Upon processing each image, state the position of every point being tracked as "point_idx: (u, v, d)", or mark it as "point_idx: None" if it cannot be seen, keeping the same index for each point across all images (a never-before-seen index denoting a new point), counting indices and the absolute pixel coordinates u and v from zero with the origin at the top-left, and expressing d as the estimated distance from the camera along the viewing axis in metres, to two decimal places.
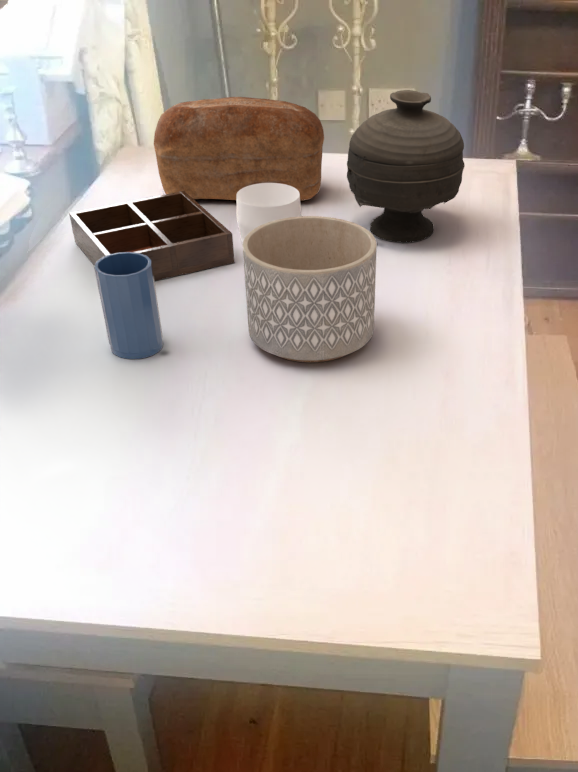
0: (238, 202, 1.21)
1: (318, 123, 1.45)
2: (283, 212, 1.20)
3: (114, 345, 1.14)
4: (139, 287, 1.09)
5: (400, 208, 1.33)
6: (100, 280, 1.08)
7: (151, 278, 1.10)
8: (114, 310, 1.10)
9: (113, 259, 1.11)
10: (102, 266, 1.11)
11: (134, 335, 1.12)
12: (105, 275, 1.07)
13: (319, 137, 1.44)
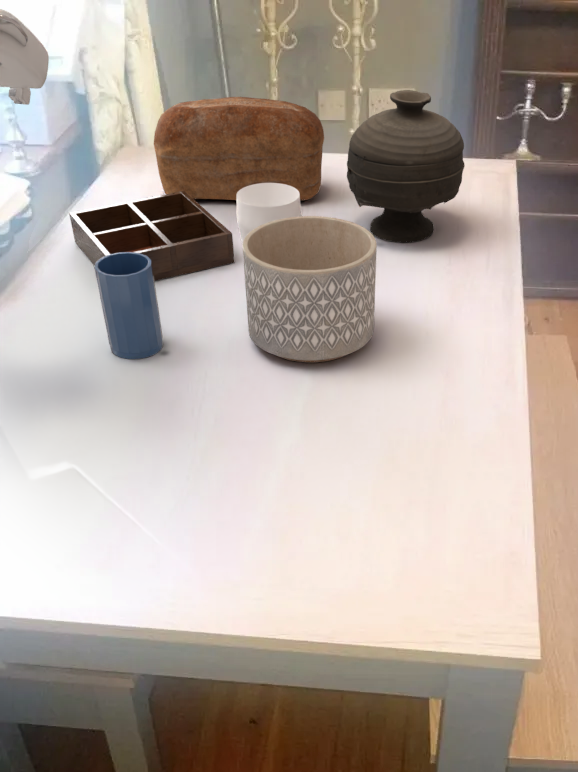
0: (238, 202, 1.21)
1: (318, 123, 1.45)
2: (283, 212, 1.20)
3: (114, 345, 1.14)
4: (139, 287, 1.09)
5: (400, 208, 1.33)
6: (100, 280, 1.08)
7: (151, 278, 1.10)
8: (114, 310, 1.10)
9: (113, 259, 1.11)
10: (102, 266, 1.11)
11: (134, 335, 1.12)
12: (105, 275, 1.07)
13: (319, 137, 1.44)
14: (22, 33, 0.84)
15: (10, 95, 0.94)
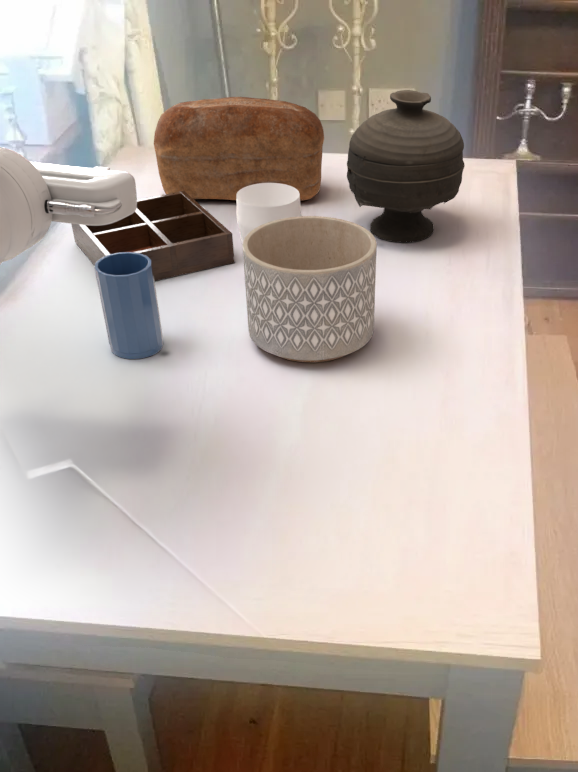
0: (238, 202, 1.21)
1: (318, 123, 1.45)
2: (283, 212, 1.20)
3: (114, 345, 1.14)
4: (139, 287, 1.09)
5: (400, 208, 1.33)
6: (100, 280, 1.08)
7: (151, 278, 1.10)
8: (114, 310, 1.10)
9: (113, 259, 1.11)
10: (102, 266, 1.11)
11: (134, 335, 1.12)
12: (105, 275, 1.07)
13: (319, 137, 1.44)
14: (118, 209, 0.83)
15: None
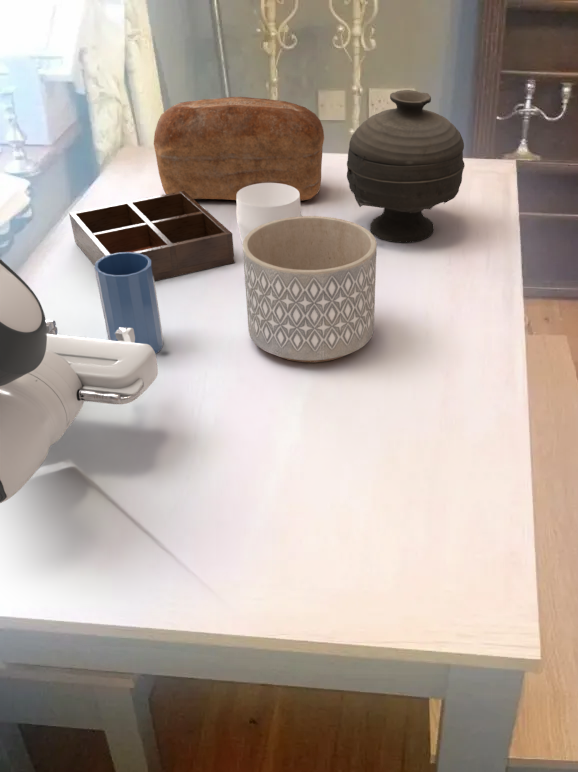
0: (238, 202, 1.21)
1: (318, 123, 1.45)
2: (283, 212, 1.20)
3: None
4: (139, 287, 1.09)
5: (400, 208, 1.33)
6: (100, 280, 1.08)
7: (151, 278, 1.10)
8: (114, 310, 1.10)
9: (113, 259, 1.11)
10: (102, 266, 1.11)
11: None
12: (105, 275, 1.07)
13: (319, 137, 1.44)
14: (141, 391, 0.93)
15: None
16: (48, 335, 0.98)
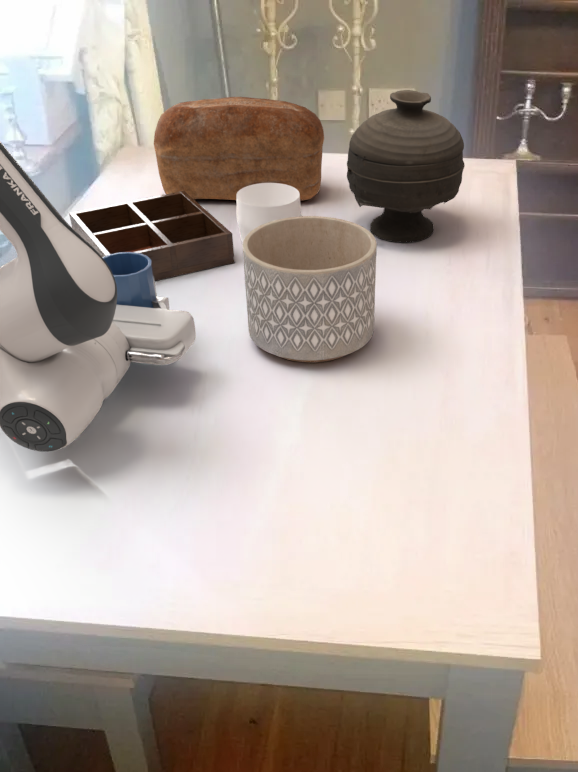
0: (238, 202, 1.21)
1: (318, 123, 1.45)
2: (283, 212, 1.20)
3: None
4: (139, 287, 1.09)
5: (400, 208, 1.33)
6: None
7: (151, 278, 1.10)
8: None
9: (113, 259, 1.11)
10: None
11: None
12: None
13: (319, 137, 1.44)
14: (182, 352, 1.04)
15: None
16: None
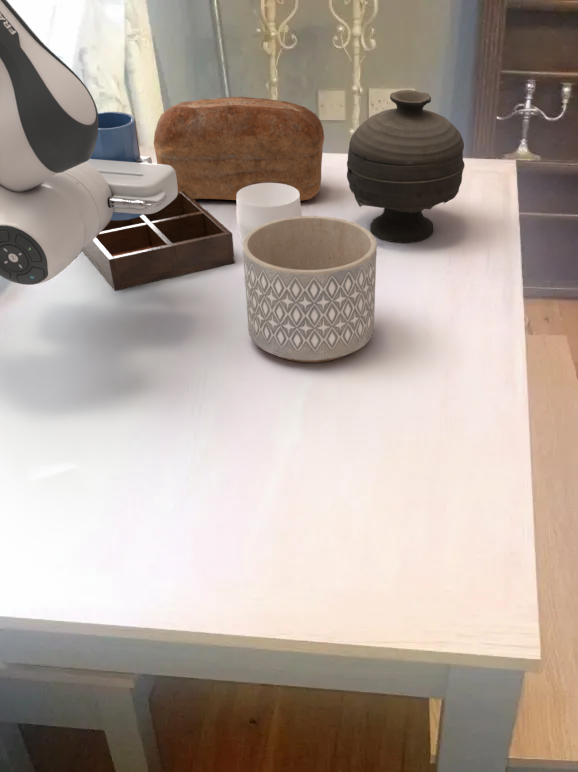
0: (238, 202, 1.21)
1: (318, 123, 1.45)
2: (283, 212, 1.20)
3: None
4: (122, 142, 1.11)
5: (400, 208, 1.33)
6: None
7: (134, 135, 1.12)
8: None
9: None
10: None
11: None
12: None
13: (319, 137, 1.44)
14: (164, 201, 1.06)
15: None
16: None
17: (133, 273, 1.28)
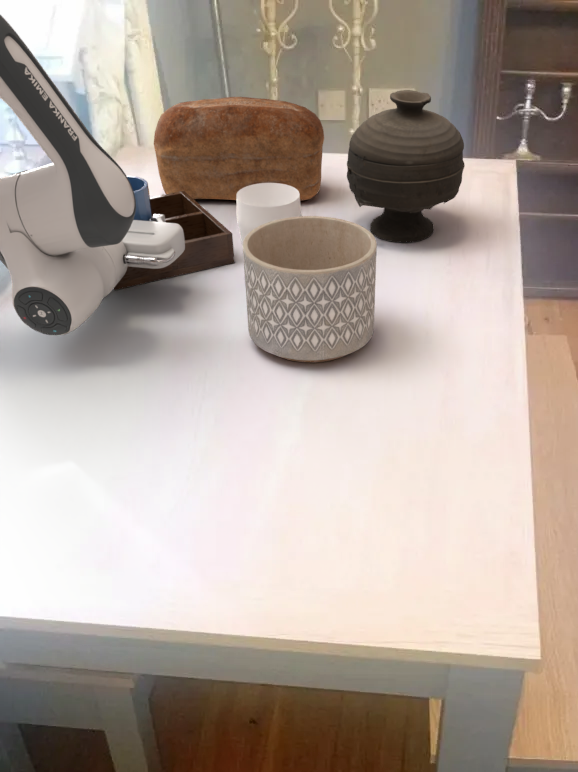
0: (238, 202, 1.21)
1: (318, 123, 1.45)
2: (283, 212, 1.20)
3: None
4: (137, 205, 1.24)
5: (400, 208, 1.33)
6: None
7: (147, 198, 1.25)
8: None
9: None
10: None
11: None
12: None
13: (319, 137, 1.44)
14: (173, 257, 1.19)
15: None
16: None
17: (133, 273, 1.28)
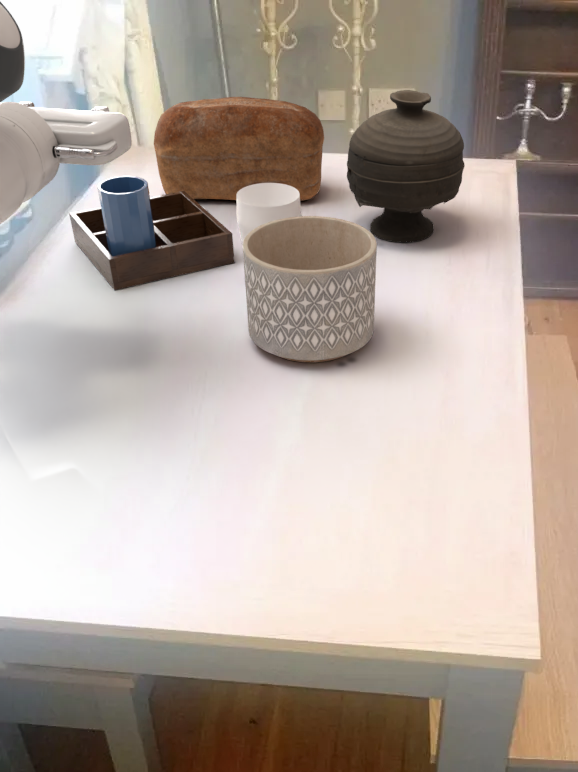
0: (238, 202, 1.21)
1: (318, 123, 1.45)
2: (283, 212, 1.20)
3: None
4: (137, 205, 1.24)
5: (400, 208, 1.33)
6: (103, 198, 1.23)
7: (147, 198, 1.25)
8: (115, 226, 1.25)
9: (114, 182, 1.27)
10: (104, 188, 1.26)
11: (132, 249, 1.27)
12: (107, 193, 1.22)
13: (319, 137, 1.44)
14: (114, 150, 0.98)
15: None
16: None
17: (133, 273, 1.28)
